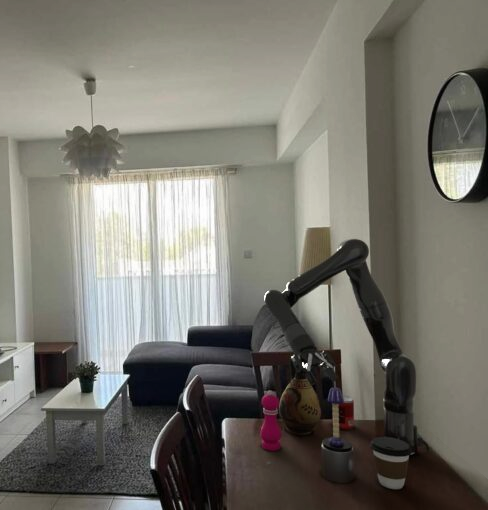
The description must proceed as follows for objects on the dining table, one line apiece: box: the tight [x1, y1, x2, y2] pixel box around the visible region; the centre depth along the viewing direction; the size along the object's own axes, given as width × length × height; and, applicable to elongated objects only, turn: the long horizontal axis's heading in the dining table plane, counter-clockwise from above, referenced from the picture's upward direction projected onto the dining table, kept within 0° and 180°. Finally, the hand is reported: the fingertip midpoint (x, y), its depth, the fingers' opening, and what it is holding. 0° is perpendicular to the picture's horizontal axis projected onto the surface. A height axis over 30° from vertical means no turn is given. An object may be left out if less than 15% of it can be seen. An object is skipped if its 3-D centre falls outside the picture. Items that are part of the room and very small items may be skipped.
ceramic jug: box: [278, 351, 322, 436], centre depth 179 cm, size 17×15×30 cm
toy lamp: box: [327, 387, 344, 446], centre depth 142 cm, size 5×5×17 cm
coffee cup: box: [369, 436, 412, 490], centre depth 136 cm, size 11×11×12 cm
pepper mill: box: [259, 389, 282, 451], centre depth 164 cm, size 7×7×20 cm
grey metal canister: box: [321, 437, 355, 484], centre depth 142 cm, size 9×9×10 cm
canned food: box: [338, 395, 355, 430], centre depth 182 cm, size 8×8×11 cm
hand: (325, 382), depth 146 cm, fingers open, 8 cm apart
